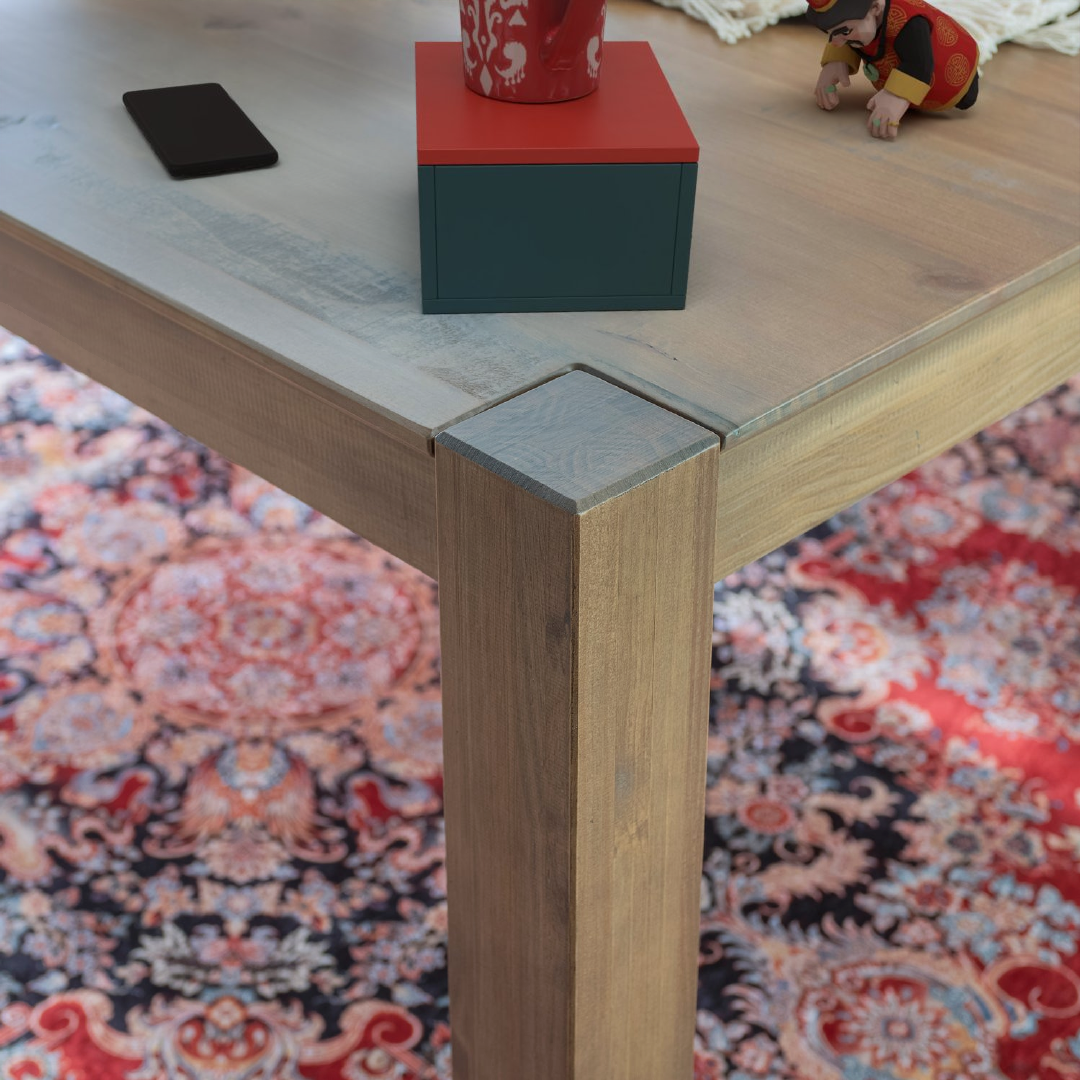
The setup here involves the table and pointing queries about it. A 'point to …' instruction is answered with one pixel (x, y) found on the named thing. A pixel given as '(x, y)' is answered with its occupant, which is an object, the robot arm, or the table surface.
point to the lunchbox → (555, 236)
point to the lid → (551, 115)
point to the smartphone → (198, 129)
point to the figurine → (895, 57)
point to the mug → (532, 48)
